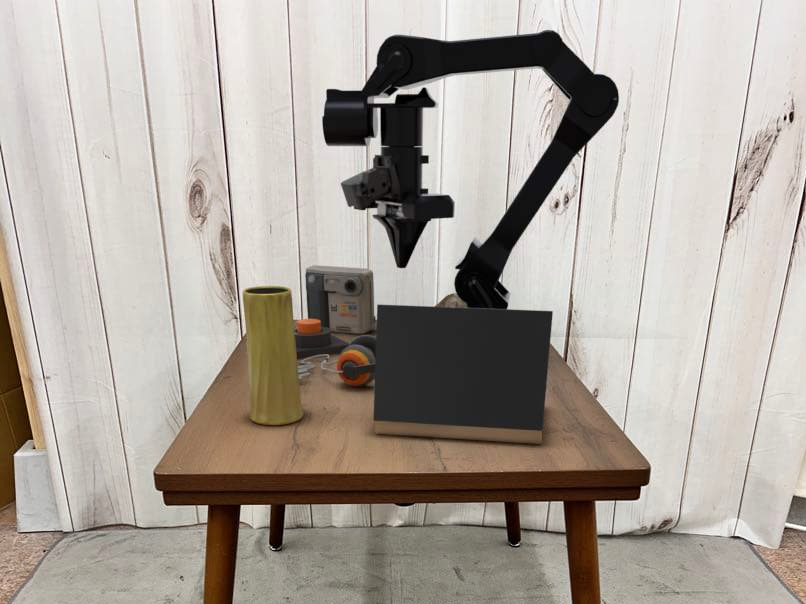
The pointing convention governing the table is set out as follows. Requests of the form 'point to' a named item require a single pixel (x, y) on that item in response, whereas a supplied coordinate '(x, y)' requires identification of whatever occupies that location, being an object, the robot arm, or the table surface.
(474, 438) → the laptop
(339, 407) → the table surface
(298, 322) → the power button
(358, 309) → the camera
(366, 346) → the headphones
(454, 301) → the fossilized seashell
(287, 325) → the vase
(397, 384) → the black flat panel
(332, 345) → the dock
